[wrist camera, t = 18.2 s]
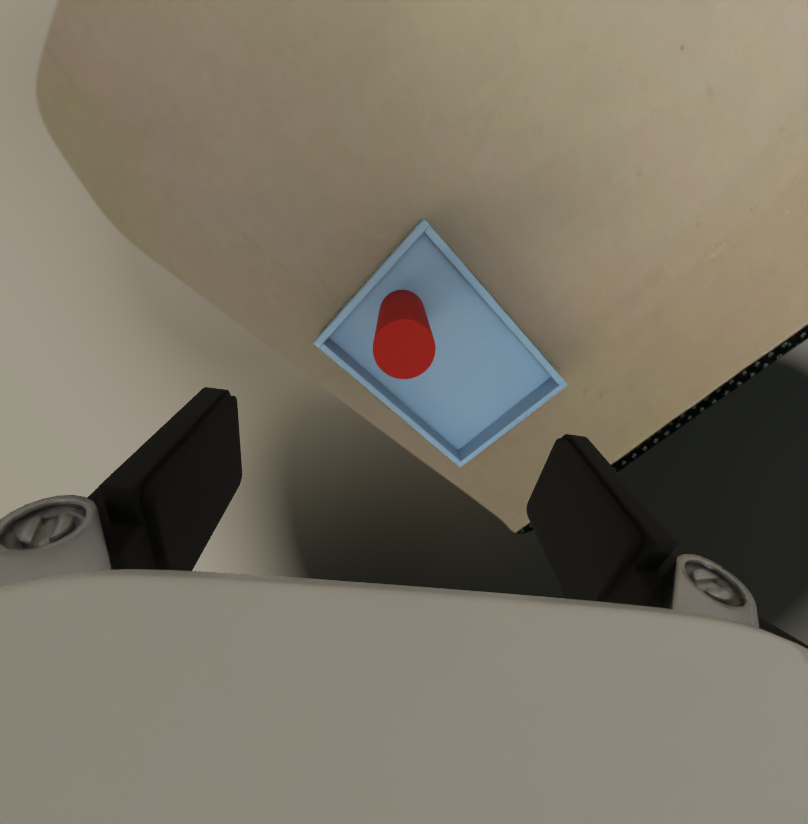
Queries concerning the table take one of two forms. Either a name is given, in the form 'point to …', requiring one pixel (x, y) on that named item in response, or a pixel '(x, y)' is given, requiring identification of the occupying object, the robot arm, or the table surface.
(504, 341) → the tray
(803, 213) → the table surface
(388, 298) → the plug
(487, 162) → the table surface
